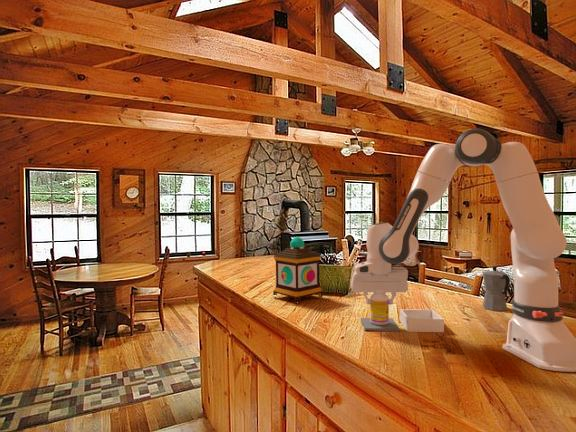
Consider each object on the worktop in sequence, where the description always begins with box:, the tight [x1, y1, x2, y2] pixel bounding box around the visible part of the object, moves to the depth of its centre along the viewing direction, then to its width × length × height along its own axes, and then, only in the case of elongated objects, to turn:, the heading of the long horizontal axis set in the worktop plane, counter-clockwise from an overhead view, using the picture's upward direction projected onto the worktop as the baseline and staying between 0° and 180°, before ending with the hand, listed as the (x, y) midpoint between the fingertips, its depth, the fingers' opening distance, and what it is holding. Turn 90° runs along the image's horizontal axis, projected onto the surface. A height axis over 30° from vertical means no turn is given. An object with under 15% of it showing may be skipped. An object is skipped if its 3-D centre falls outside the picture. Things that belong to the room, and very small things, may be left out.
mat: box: [360, 317, 401, 332], centre depth 135 cm, size 12×12×1 cm
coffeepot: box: [482, 266, 511, 312], centre depth 155 cm, size 15×9×18 cm, turn 6°
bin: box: [399, 308, 445, 333], centre depth 134 cm, size 12×12×4 cm
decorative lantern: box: [272, 236, 324, 303], centre depth 178 cm, size 20×20×30 cm
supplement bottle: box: [369, 289, 390, 325], centre depth 135 cm, size 7×7×13 cm
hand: (379, 304), depth 135 cm, fingers closed on supplement bottle, 6 cm apart
